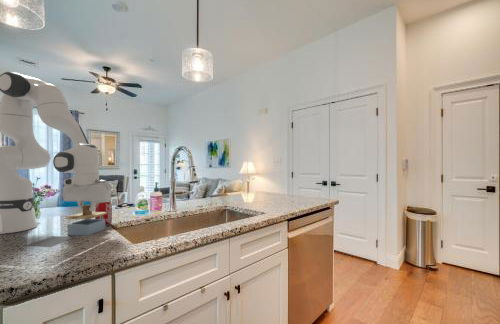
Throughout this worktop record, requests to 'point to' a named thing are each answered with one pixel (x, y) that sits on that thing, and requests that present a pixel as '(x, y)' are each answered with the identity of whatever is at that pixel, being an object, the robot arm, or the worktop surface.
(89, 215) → the lid
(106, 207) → the soda can
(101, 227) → the dish
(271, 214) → the worktop surface
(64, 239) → the mat
